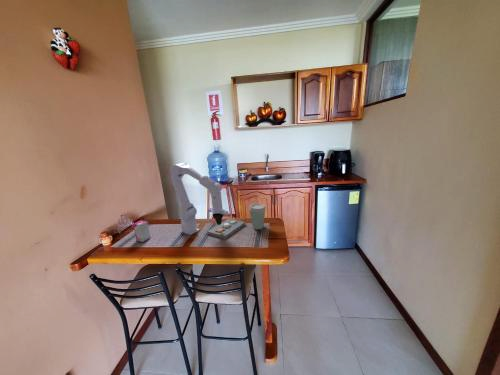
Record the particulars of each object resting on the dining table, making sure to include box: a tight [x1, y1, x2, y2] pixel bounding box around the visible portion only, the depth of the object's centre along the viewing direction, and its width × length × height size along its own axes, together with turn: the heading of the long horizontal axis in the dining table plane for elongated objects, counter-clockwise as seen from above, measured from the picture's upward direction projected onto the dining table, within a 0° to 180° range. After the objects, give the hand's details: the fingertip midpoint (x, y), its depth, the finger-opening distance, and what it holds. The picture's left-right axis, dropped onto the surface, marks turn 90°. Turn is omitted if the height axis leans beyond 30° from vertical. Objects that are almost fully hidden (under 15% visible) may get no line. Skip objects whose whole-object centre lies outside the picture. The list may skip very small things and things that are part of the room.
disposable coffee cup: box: [248, 203, 266, 230], centre depth 124 cm, size 11×11×15 cm
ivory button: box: [224, 223, 230, 229], centre depth 126 cm, size 4×4×2 cm
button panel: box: [206, 218, 246, 240], centre depth 126 cm, size 14×21×2 cm, turn 148°
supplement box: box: [132, 220, 151, 243], centre depth 119 cm, size 6×6×12 cm
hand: (219, 224), depth 119 cm, fingers closed
